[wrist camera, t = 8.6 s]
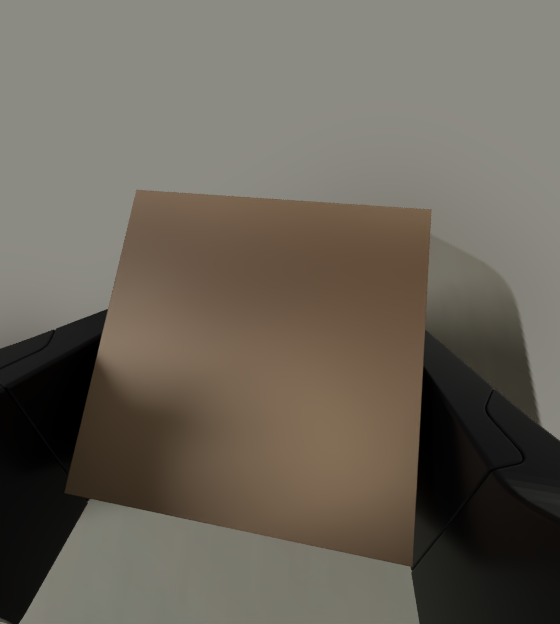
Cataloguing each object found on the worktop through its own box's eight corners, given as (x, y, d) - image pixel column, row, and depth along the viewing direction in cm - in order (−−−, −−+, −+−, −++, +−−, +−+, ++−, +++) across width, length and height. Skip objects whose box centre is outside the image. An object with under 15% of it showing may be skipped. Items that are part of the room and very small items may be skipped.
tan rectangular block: (345, 434, 14) (412, 567, 5) (223, 414, 15) (64, 492, 5) (356, 311, 15) (431, 210, 6) (242, 298, 16) (136, 190, 6)
